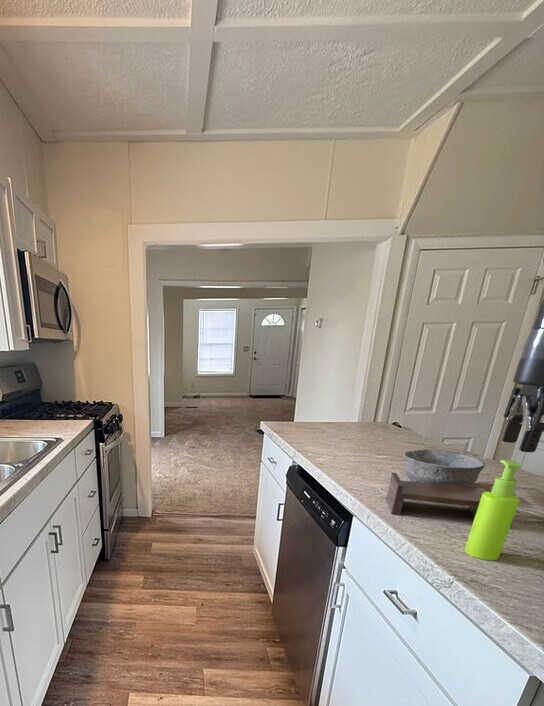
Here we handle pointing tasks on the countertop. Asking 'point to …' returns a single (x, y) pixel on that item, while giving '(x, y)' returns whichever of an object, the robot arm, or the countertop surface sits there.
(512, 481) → the soap dispenser
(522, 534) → the countertop surface
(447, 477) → the bowl
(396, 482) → the shelf
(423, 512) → the countertop surface
